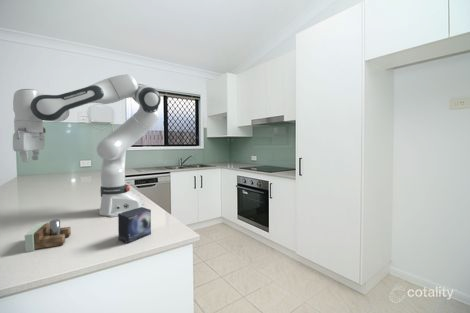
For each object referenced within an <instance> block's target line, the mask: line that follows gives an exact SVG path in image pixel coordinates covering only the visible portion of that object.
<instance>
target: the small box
mask: <svg viewBox="0 0 470 313" xmlns="http://www.w3.org/2000/svg"><path fill="white" fill-rule="evenodd" d="M151 211H152V209H150V208H149V209H148V208H146V207H145V208H143V207H140V208H136V209H133V210H129V211H126V212H122V213H118V216H117V217H118V218H117V222H118V223H117V224H118V227H117V228H118V229H117V230H118V232H117V233H118V238H117V240H119V241H121V242H123V243H124V244H130V243H133V242H134V241H137V240H140V239H142V238H145V237H148V236H150V235H152V216H151V215H152V212H151Z"/></svg>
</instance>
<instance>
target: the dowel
mask: <svg viewBox="0 0 470 313" xmlns="http://www.w3.org/2000/svg"><path fill="white" fill-rule="evenodd" d="M48 223H50V236H52V235H60V234H61V233H60V228H61V220H60V219H52V220H50V221H49V222H48Z"/></svg>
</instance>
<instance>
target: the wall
mask: <svg viewBox="0 0 470 313" xmlns="http://www.w3.org/2000/svg"><path fill="white" fill-rule="evenodd" d="M45 223H47V222H46V221H45V222H44V221H43V222H39V223H38V224H37V225H35V226H34V227H33V228H31V229H30V230H29V231H28V232H27V233H26V234H24V245H25V253H30V252H29V251H31V252H34V251H35V250H36V249H35V248H34V233H35V232H36V231H37V230H38V229H39V228H41V227H42V226H43V225H44V224H45Z"/></svg>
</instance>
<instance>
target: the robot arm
mask: <svg viewBox="0 0 470 313" xmlns="http://www.w3.org/2000/svg"><path fill="white" fill-rule="evenodd" d="M129 98H131V99H133V101H134V102H136V103H137V104H138V105H139V106H138V109H137V110H136V112H135V113H134V114H132V115H131V116H130V117H129V118H128V119H127V120H125V121H124V122H123V123H122V124H121V125H120V126H119V127H118V128H116V129H114V131H112V132H111V133H110V134H108V135H107V136H106V137H104V138H103V139H102V140H101V141H100V142H99V143H98V144H97V146H96V152H97V155H98V157H100V158H101V159H102V164H101V170H100V180H101V182H100V184H101V186H100V190H99V192H100V206H99V210H98V211H99V212H98V214H99V215H100V216H105V217H106V216H107V217H109V218H115V217H118V213H122V212H126V211H129V210H133V209H136V208H140V207H143V208H146V205H145V203H142V199H141V198H140V197H139V196H138V195H137V194H135V193H134V192H132V191H130V189H131V187H130V184H126V174H125V173H126V158H127V157H126V155H127V154H126V153H127V152H126V151H127V150H129V149H130V148H131V147H132V146H133V145H135V143H137V142H138V141H139V140H140V139H141V138H142V137H144V136H145V134H147V133H148V132H149V131H150V130H151V129H152V127H154V125H155V124H156V123H157V122H158V120H159V118H160V115H159V113H158V109H159V106H160V104H161V100H162V99H161V95H160V93H159V91H158V90H157V89H155V88H154V87H153V86H150V85H146V84H144V83H143V84H141V83H138V82H137V80H136V78H135V77H134V76H132V75H131V74H118V75H114V76H110V77H107V78H104V79H102V80H99V81H97V82H95V83H93V84H90V85H87V86H85V87H82V88H79V89H78V88H77V89H75V90H72V91H68V92H65V93H61V94H55V95H54V94H44V93H42V92H41V91H39V90H37V89H33V88H21V89H19V90H18V89H17V90H16V91H14V93H13V100H12V106H13V107H12V110H13V112H14V118H13V130H14V133H13V135H12V150H13V151H14V152H19V155H20V157H21V162H22V163H28V162H30V157H29V151H30V152H31V151H32V156H31V159H32V161H38V160H39V158H40V157H39V156H40V151H41V150H44V149H45V144H46V142H45V140H46V139H45V137H46V136H45V134H46V133H47V129H46V128H45V127H44V125H43V124H44V123H43V121H47V122H54V123H59V122H63V121H65V120H67V119H68V117H69V116H70V110H72V109H75V108H78V107H81V106H82V107H83V106H84V105H88V104H101V105H108V104H114V103H117V102H120V101H123V100H124V99H129Z"/></svg>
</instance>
